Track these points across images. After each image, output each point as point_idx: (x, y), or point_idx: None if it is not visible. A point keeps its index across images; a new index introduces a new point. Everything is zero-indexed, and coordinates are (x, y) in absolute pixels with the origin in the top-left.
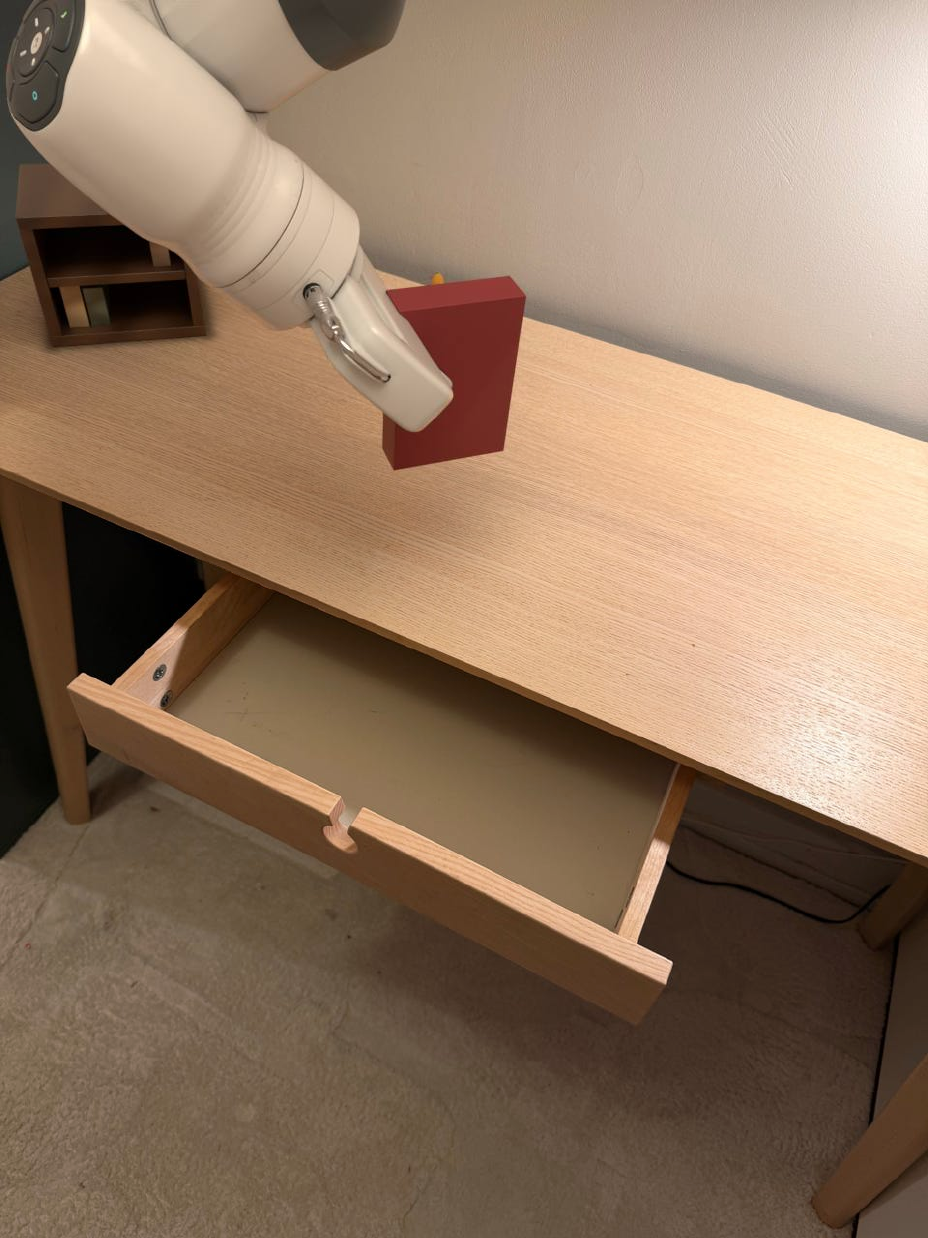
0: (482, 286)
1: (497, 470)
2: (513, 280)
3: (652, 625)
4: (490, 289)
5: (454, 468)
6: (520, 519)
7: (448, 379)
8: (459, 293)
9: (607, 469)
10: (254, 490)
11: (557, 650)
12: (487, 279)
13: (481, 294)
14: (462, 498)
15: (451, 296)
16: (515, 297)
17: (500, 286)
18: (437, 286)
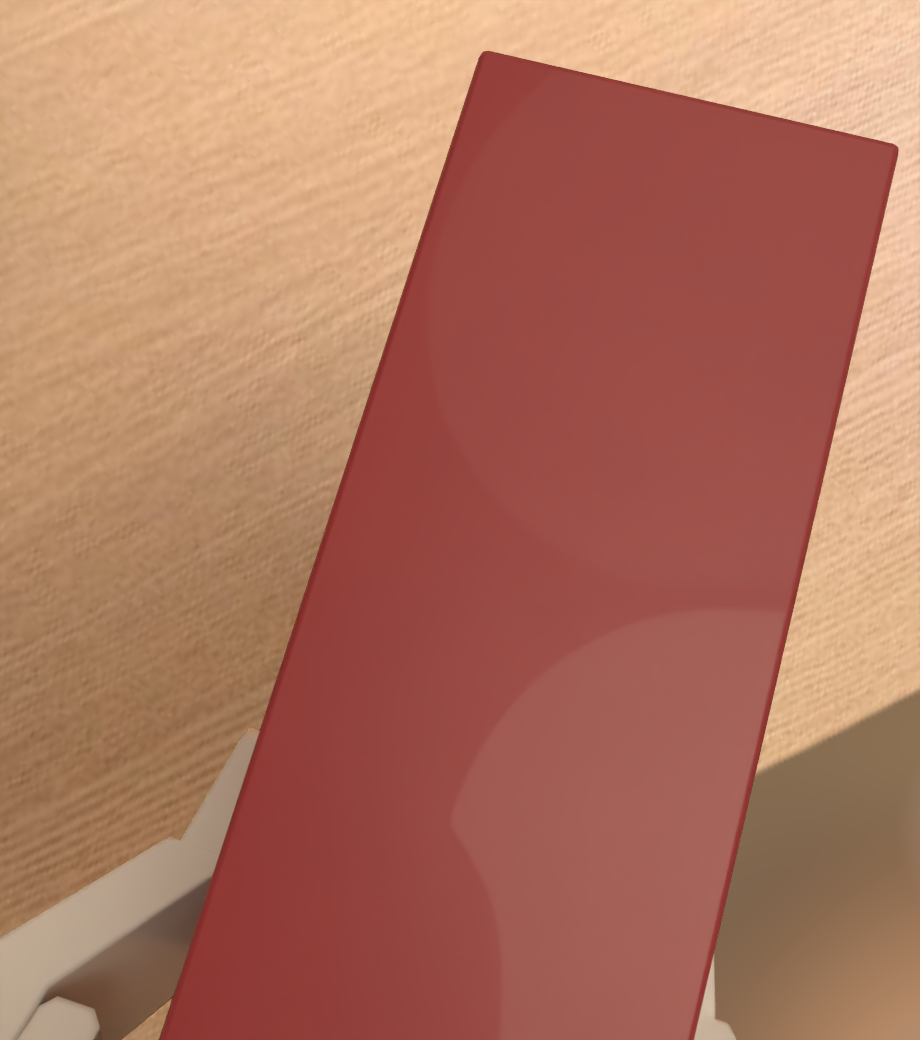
0: (526, 431)
1: (306, 335)
2: (584, 77)
3: (890, 369)
4: (623, 396)
5: (241, 417)
6: None
7: None
8: (527, 763)
9: (451, 118)
10: (18, 885)
11: (839, 591)
12: (432, 294)
13: (659, 546)
14: (337, 466)
15: (530, 888)
16: (868, 258)
17: (620, 264)
18: (266, 892)
